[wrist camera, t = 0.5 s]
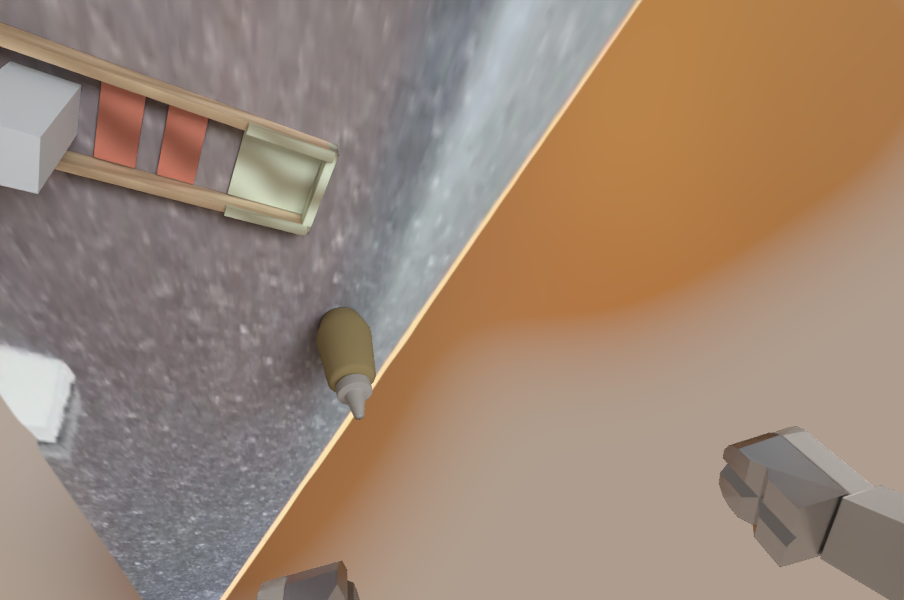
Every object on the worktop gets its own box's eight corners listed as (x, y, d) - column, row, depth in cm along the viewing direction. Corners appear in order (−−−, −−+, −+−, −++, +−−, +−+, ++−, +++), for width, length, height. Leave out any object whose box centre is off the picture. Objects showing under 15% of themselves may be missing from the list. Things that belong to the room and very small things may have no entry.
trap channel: (-48, 4, 38) (-66, 12, 36) (336, 144, 54) (339, 156, 52) (-42, 130, 43) (-57, 144, 41) (306, 223, 60) (308, 236, 58)
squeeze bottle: (377, 316, 74) (403, 409, 61) (341, 346, 76) (358, 442, 63) (340, 291, 69) (360, 388, 56) (301, 324, 71) (312, 424, 58)
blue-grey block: (10, 60, 41) (-53, 111, 33) (81, 84, 44) (40, 137, 35) (9, 114, 44) (-49, 173, 35) (77, 134, 46) (37, 193, 38)
